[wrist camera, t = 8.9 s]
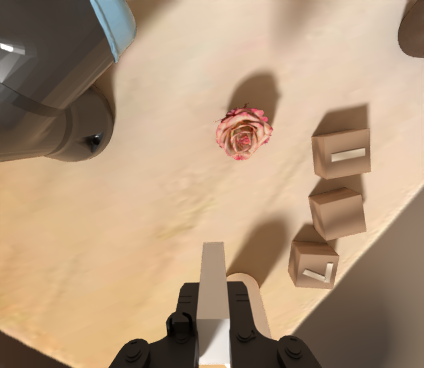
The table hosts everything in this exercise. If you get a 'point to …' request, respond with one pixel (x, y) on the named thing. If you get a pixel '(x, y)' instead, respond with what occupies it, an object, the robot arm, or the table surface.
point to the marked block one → (341, 153)
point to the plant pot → (413, 31)
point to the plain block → (337, 213)
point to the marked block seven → (312, 265)
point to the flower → (243, 132)
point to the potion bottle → (253, 303)
